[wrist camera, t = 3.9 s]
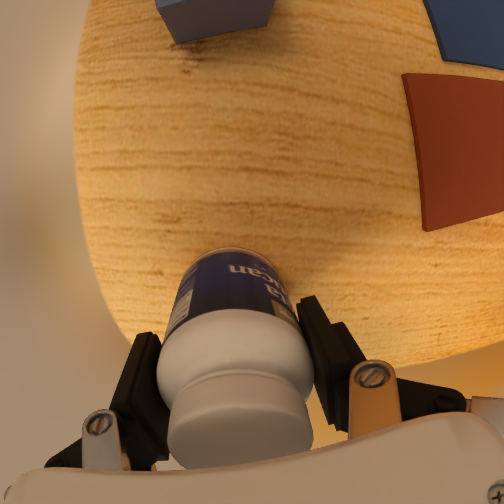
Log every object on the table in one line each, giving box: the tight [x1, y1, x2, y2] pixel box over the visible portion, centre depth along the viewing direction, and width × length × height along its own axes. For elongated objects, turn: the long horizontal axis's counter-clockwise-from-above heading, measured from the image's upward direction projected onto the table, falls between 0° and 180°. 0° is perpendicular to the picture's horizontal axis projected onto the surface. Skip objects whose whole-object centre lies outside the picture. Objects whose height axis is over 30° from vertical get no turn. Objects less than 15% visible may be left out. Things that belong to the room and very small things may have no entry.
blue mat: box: [423, 0, 504, 70], centre depth 11 cm, size 12×9×1 cm
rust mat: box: [402, 73, 504, 232], centre depth 14 cm, size 12×9×1 cm
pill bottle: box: [157, 247, 314, 470], centre depth 11 cm, size 5×5×10 cm
